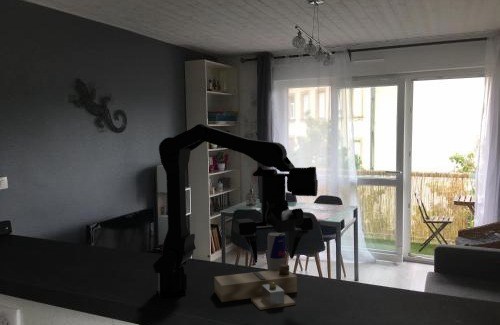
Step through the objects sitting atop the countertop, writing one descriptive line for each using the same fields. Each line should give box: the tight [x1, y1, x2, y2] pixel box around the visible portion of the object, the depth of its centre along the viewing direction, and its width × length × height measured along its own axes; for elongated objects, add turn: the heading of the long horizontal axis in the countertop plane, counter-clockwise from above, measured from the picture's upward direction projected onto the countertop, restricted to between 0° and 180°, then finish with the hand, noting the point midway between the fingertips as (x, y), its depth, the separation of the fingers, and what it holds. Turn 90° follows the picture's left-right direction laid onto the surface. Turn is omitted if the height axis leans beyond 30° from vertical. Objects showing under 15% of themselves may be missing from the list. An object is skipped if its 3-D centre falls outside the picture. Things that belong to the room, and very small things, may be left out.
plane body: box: [214, 263, 298, 303], centre depth 105 cm, size 20×7×6 cm, turn 109°
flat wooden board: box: [250, 293, 296, 311], centre depth 99 cm, size 9×6×1 cm, turn 109°
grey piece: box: [262, 282, 284, 305], centre depth 98 cm, size 4×6×4 cm, turn 19°
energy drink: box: [267, 231, 287, 271], centre depth 119 cm, size 5×5×12 cm
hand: (273, 260), depth 98 cm, fingers open, 9 cm apart
